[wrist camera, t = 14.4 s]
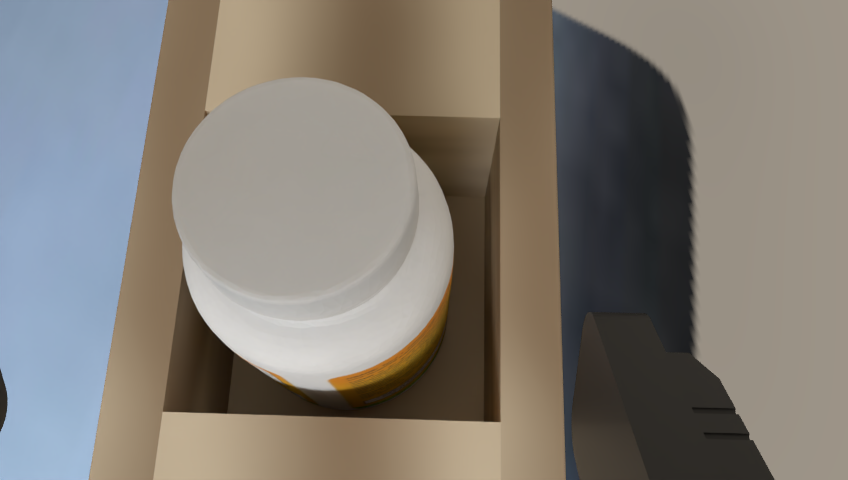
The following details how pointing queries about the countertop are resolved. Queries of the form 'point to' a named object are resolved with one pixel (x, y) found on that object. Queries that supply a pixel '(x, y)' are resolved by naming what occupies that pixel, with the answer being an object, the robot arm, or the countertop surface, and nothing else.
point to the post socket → (472, 267)
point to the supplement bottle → (316, 241)
